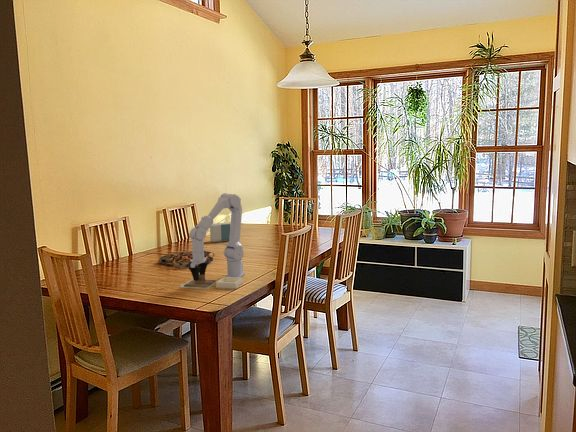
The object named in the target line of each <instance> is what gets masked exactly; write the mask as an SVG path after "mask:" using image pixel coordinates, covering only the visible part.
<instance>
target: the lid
mask: <svg viewBox="0 0 576 432" xmlns="http://www.w3.org/2000/svg"><path fill="white" fill-rule="evenodd" d="M190 280H191V281H190ZM190 280H189V281H190V282H188V281H187V282H188V283H187V282H186V283H187V284H185V283H184V284H185V285H184V286H185V287H203V288H207V287H208V286H210V285H211V284H213V283H214V282H215V281H217V280H216V279H206V274H205V275H200V274H199V279H198V281H194V279H193V280H192V279H190Z"/></svg>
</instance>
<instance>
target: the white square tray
mask: <svg viewBox="0 0 576 432" xmlns="http://www.w3.org/2000/svg"><path fill="white" fill-rule="evenodd" d="M216 281H217V282H216V284H215V288H216V289H222V290H225V289H226V290H237V289H238V288H239V287H240V286H242V285H243V277H240V278H233V277H225V276H223V277H221V278H220V279H219V280H216Z"/></svg>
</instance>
